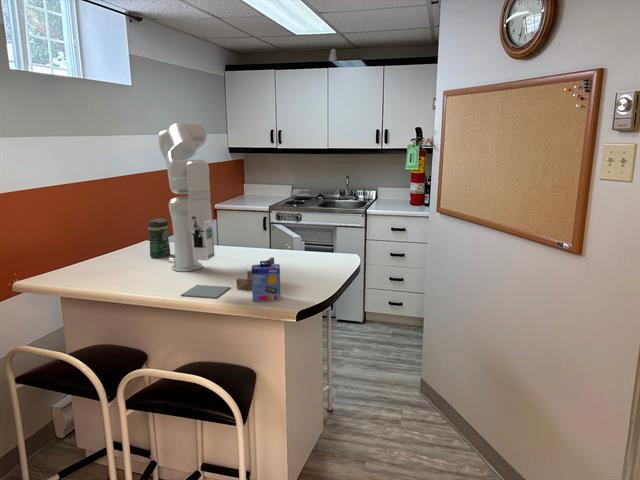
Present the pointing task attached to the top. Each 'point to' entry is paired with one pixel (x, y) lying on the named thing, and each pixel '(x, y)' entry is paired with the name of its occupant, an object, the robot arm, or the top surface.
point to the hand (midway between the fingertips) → (202, 244)
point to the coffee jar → (158, 238)
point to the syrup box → (205, 242)
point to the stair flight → (249, 279)
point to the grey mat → (206, 291)
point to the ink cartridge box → (266, 282)
